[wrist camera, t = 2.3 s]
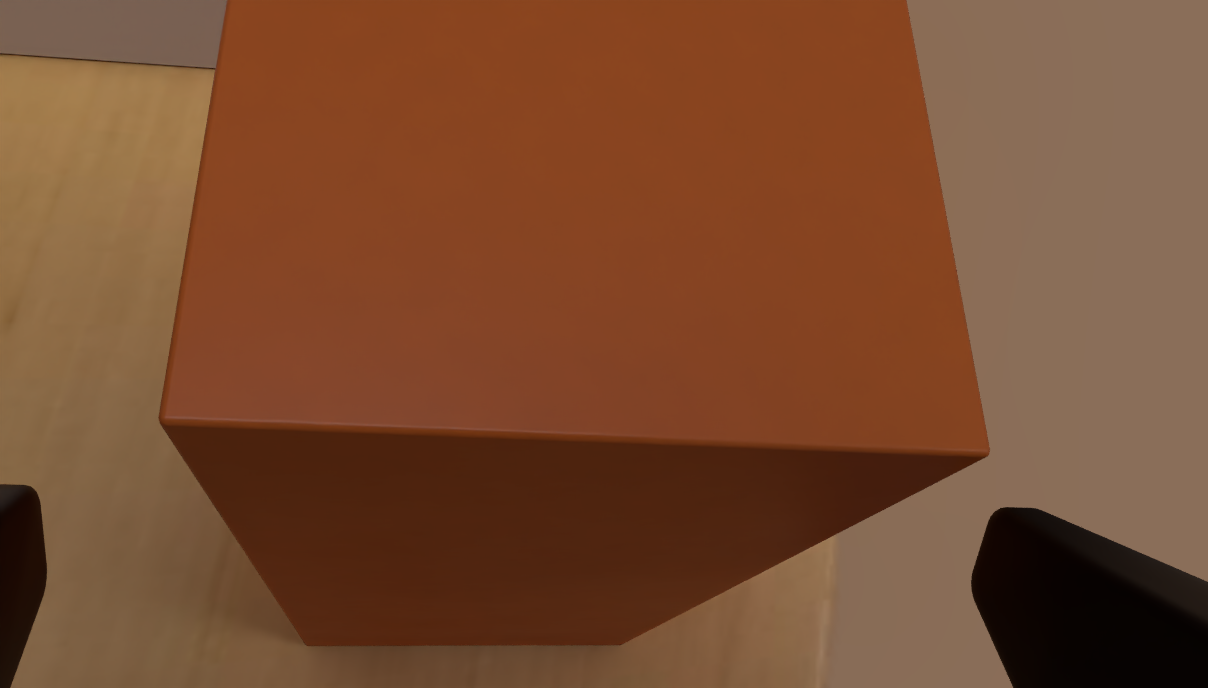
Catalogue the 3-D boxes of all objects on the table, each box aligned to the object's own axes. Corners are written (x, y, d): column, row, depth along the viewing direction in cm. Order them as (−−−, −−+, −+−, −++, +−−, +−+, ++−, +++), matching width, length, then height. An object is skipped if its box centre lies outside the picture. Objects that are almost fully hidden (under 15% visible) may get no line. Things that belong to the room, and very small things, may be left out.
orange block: (622, 645, 19) (993, 456, 7) (304, 645, 18) (155, 423, 6) (613, 361, 21) (886, -120, 10) (332, 346, 20) (261, -221, 9)
